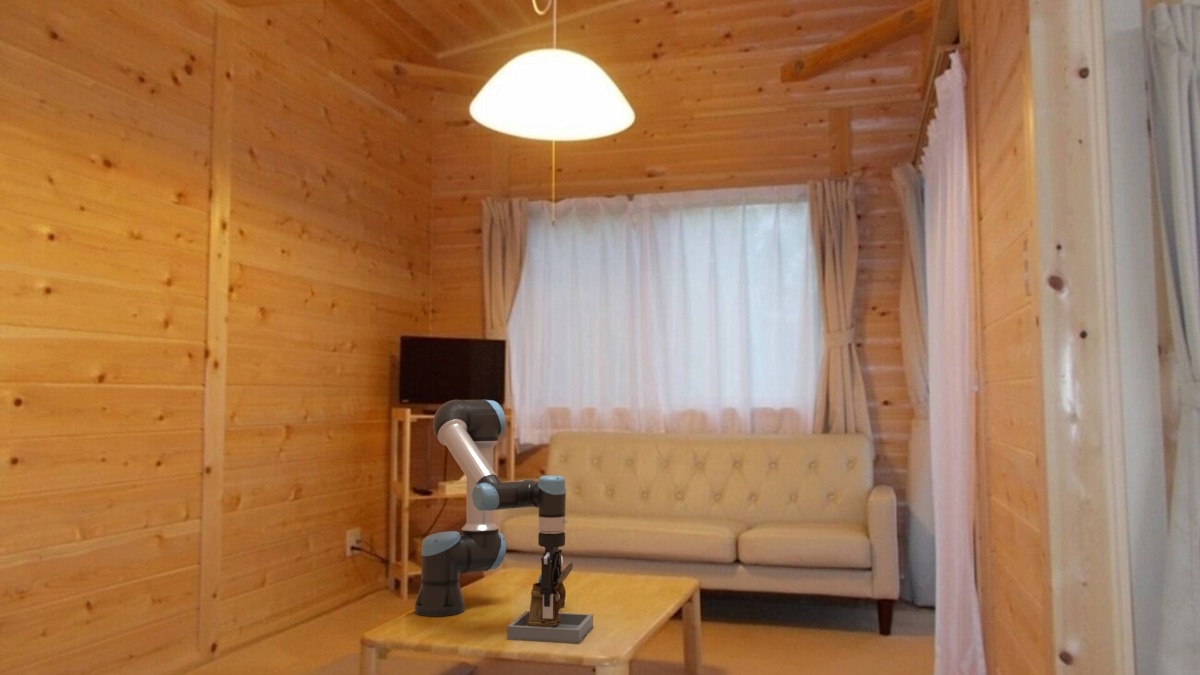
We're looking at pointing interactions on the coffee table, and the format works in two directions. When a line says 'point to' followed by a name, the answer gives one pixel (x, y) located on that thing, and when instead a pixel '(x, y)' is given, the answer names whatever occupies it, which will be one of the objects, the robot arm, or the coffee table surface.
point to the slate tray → (552, 629)
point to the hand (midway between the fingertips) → (551, 614)
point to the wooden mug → (537, 602)
